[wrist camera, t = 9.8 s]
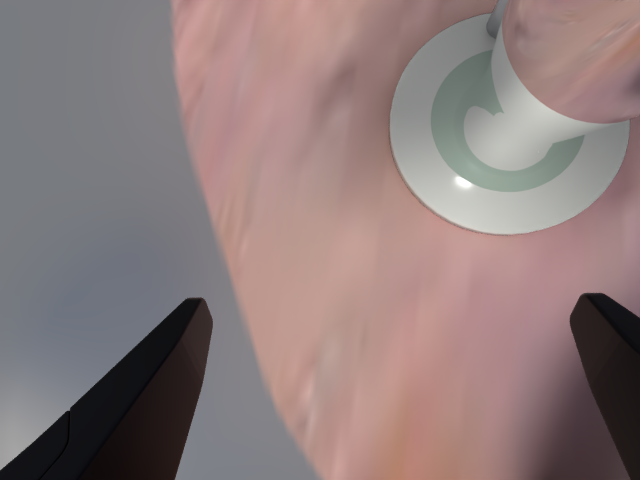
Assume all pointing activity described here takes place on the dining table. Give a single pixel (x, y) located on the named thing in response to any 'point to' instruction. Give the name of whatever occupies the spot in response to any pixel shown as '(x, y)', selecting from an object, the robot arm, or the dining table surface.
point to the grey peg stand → (464, 178)
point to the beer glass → (550, 82)
